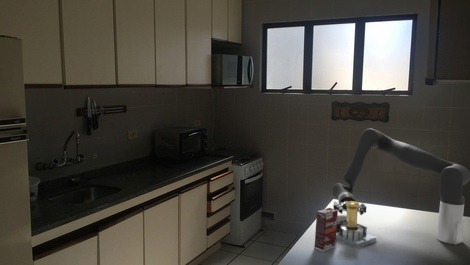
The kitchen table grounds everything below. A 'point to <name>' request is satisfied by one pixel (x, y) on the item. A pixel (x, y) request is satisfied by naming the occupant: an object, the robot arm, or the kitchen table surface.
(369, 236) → the jig
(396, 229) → the kitchen table surface
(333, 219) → the supplement box
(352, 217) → the bushing
